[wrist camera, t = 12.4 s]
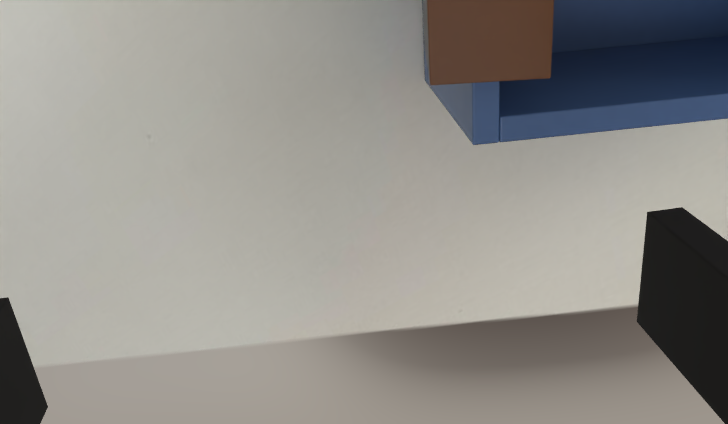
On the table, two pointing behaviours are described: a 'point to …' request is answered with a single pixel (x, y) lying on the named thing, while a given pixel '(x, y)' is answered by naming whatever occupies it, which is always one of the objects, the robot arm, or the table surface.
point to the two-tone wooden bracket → (487, 40)
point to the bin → (607, 73)
